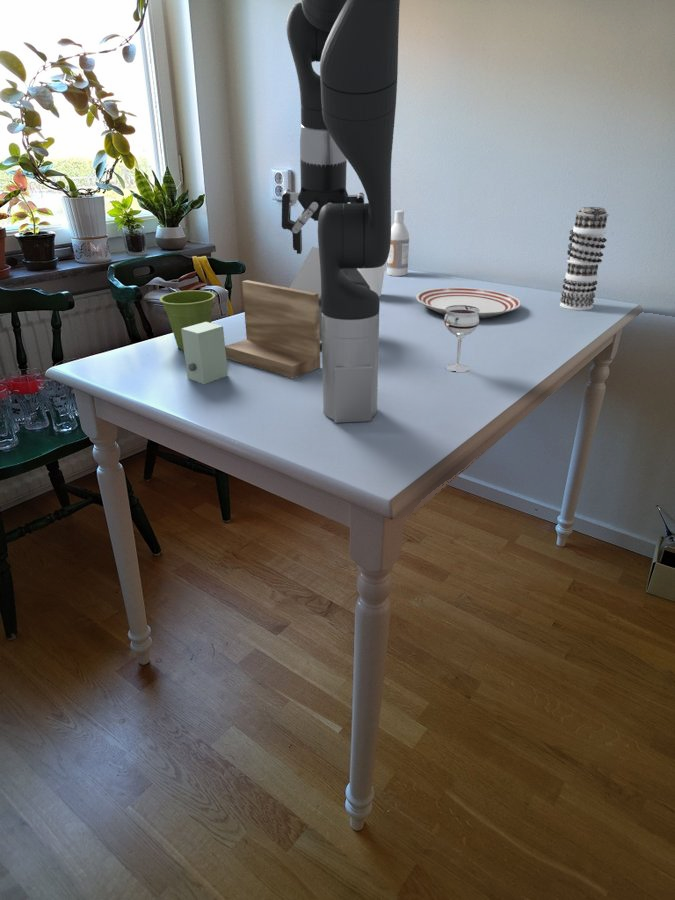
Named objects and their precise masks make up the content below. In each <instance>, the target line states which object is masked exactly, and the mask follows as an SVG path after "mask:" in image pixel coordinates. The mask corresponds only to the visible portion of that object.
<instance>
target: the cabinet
mask: <svg viewBox="0 0 675 900" xmlns="http://www.w3.org/2000/svg"><path fill="white" fill-rule="evenodd" d="M181 332H182V339H183V347H184V350H183V353H184V360H185V368H186V369H185V370H186V376H187V377H186V378H187V379H188V380H190V379H191V381H193V380H194V382H196V381H197V383H199V384H203V385H206V384H208V383H211V381H212V382H214V380H215V381H217V380H219V379H223V378H225V377H228V376H229V375H228V365H227V362H228V361H227V358H226V352H225V346H226V341H225V334H224V333H225V332H224V326H223V325H220V324H217V323H216V324H215V323H213V322H211V323H209V322H203V323H200V324H196V325H193V326H189V327H185V328H182V329H181Z"/></svg>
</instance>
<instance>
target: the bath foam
mask: <svg viewBox="0 0 675 900" xmlns="http://www.w3.org/2000/svg"><path fill="white" fill-rule="evenodd" d="M404 214H405V211H404V210H402V209H401V210H395V211H394V223H393V224H392V225H391V244H390V252H389V256H388V259H387V261H386V275H388V276H390V275H392V277H404V276H406V275H408V271H409V268H408V267H409V249H410V247H409V246H410V235H409V231H408V229H407V226H406V225H405V223H404Z"/></svg>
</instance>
